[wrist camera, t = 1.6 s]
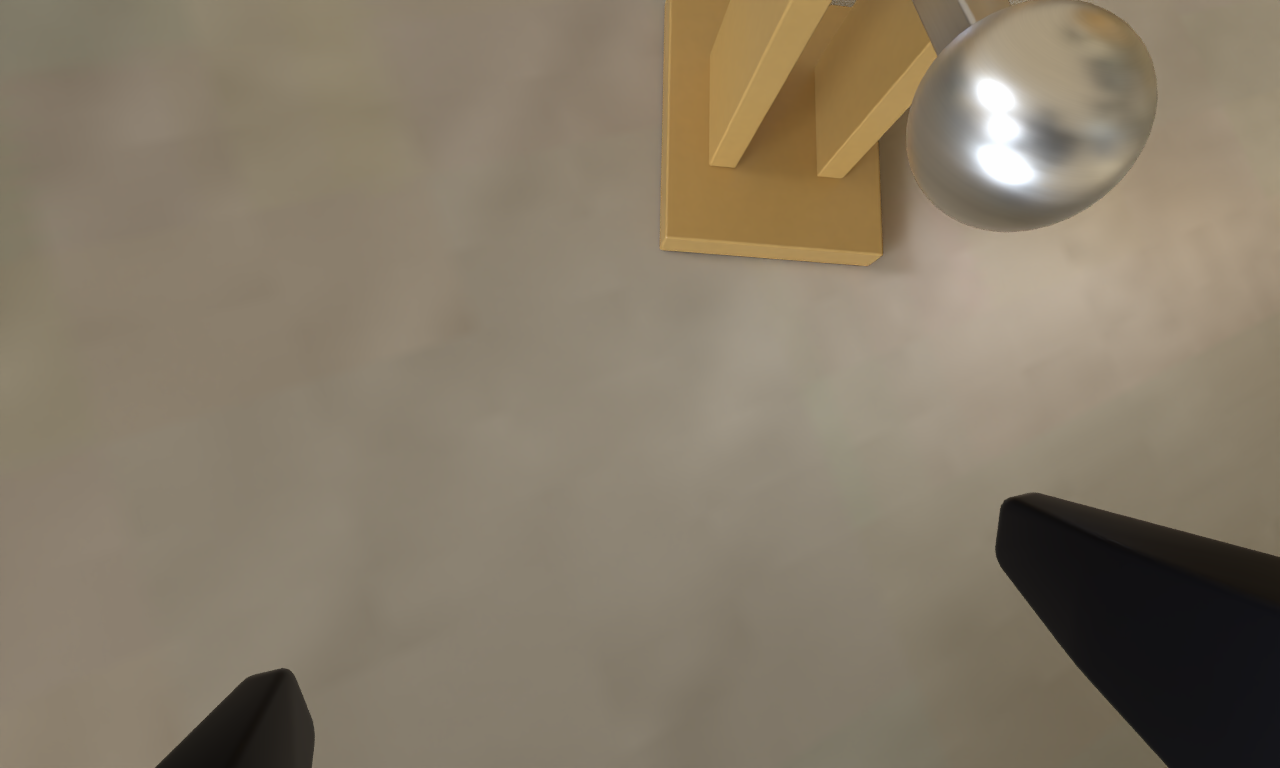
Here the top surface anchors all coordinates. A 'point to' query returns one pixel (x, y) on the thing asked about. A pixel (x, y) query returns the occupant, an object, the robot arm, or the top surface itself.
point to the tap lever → (1027, 109)
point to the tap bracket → (782, 124)
